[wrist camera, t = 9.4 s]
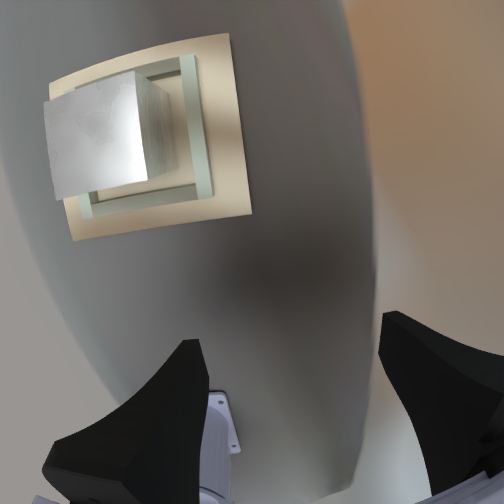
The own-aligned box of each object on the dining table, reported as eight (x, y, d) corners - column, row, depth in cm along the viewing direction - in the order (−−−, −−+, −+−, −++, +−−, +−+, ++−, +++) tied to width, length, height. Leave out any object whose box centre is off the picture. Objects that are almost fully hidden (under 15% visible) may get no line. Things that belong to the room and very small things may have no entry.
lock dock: (251, 209, 19) (252, 218, 17) (81, 236, 19) (64, 247, 17) (229, 39, 15) (227, 25, 13) (58, 85, 15) (39, 81, 13)
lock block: (178, 168, 17) (147, 179, 11) (109, 182, 17) (56, 200, 11) (169, 93, 15) (134, 70, 10) (99, 111, 15) (43, 102, 10)
